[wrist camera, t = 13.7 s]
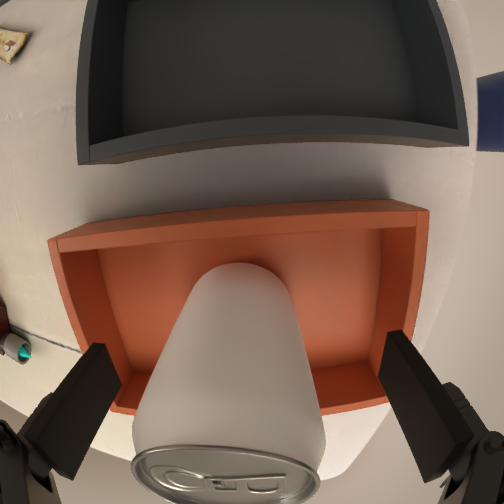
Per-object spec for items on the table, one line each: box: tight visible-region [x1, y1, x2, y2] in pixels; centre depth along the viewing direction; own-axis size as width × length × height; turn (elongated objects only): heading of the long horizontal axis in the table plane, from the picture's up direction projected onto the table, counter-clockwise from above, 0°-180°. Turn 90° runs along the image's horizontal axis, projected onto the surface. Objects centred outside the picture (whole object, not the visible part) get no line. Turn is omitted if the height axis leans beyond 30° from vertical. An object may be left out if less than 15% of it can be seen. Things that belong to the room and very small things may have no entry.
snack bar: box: [0, 28, 28, 65], centre depth 10 cm, size 10×2×3 cm
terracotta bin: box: [47, 199, 429, 416], centre depth 15 cm, size 20×13×4 cm, turn 94°
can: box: [131, 263, 326, 504], centre depth 12 cm, size 6×6×12 cm
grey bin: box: [76, 0, 469, 165], centre depth 11 cm, size 20×13×4 cm, turn 94°
